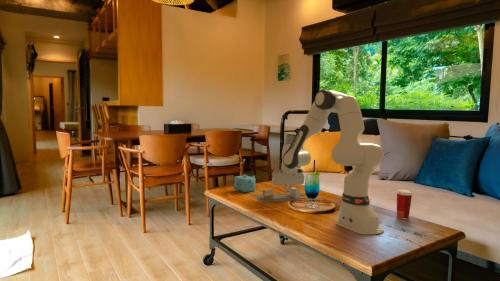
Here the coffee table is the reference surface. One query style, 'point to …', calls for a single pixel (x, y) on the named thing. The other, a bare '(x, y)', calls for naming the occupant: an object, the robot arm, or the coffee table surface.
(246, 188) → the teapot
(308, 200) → the lane rails
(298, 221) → the coffee table surface
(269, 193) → the cube
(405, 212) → the glass of red beer
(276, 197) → the strip
